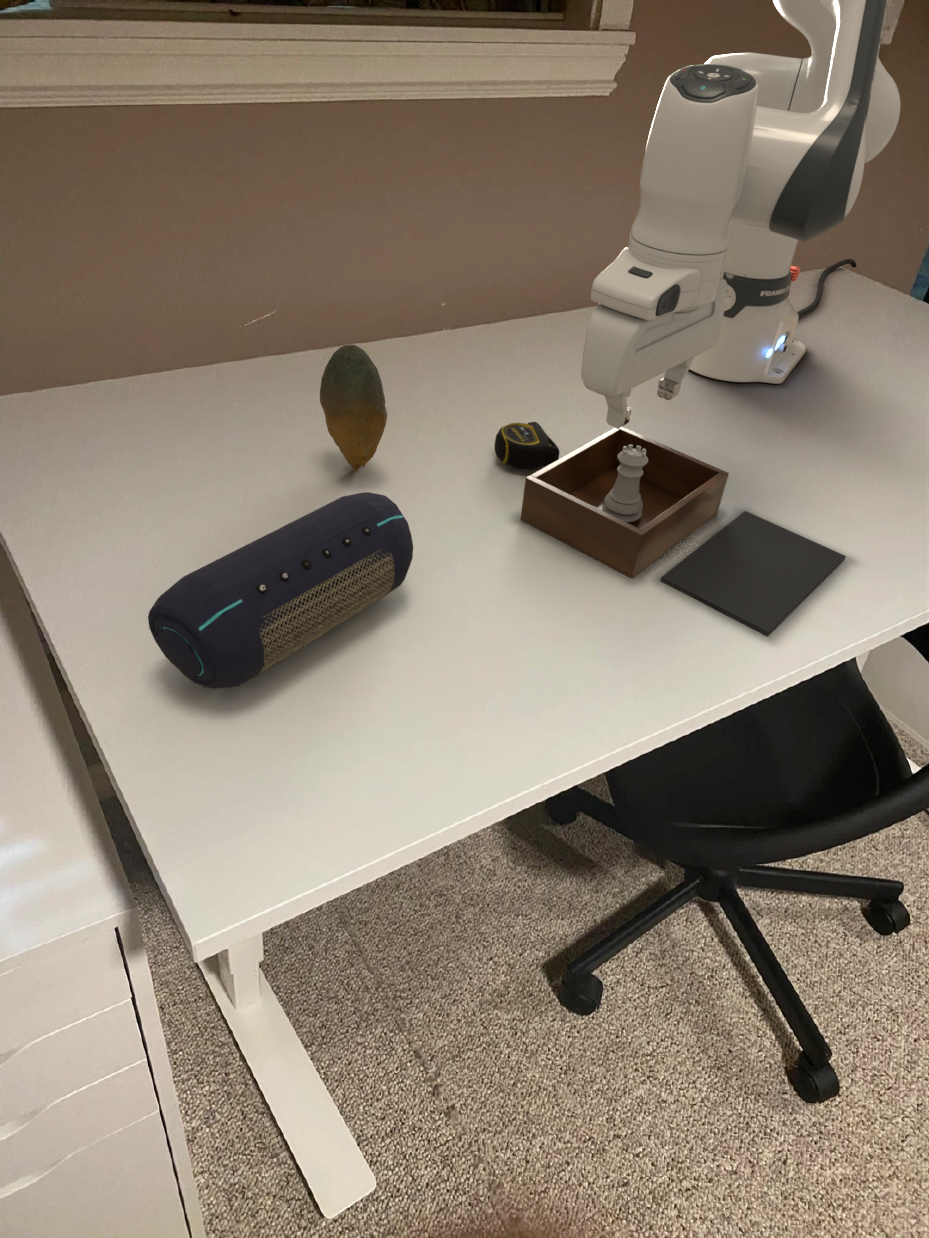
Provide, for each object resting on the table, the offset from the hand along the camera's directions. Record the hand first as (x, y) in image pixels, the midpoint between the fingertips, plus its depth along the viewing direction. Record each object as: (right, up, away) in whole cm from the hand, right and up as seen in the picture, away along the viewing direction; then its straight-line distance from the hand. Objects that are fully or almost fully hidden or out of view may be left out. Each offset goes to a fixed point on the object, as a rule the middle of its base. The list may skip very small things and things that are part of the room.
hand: (642, 410), depth 93 cm
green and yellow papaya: (-31, -4, +12) cm, 34 cm away
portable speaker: (-33, -22, -10) cm, 41 cm away
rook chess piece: (-1, -10, +8) cm, 13 cm away
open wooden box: (-1, -10, +8) cm, 13 cm away
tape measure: (-11, -2, +17) cm, 20 cm away
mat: (+12, -16, +2) cm, 20 cm away
